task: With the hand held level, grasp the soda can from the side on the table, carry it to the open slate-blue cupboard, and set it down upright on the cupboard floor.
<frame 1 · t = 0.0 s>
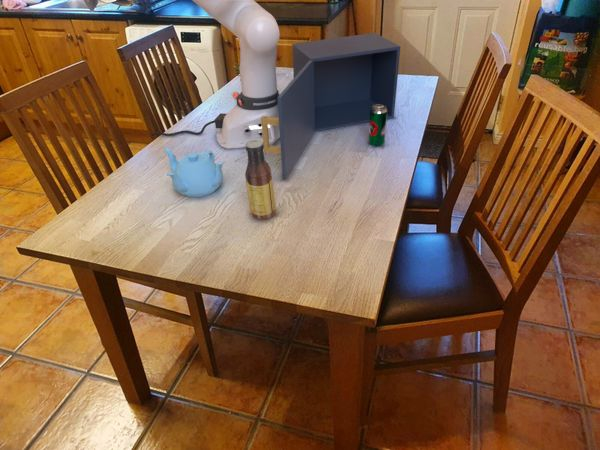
house plant: (254, 98, 178), on the table
teapot: (197, 190, 125), on the table
cupboard: (343, 115, 161), on the table
cupboard door: (288, 117, 132), point 12 cm above the table, hinge at 125.0°
soda can: (376, 144, 143), on the table
sauce bottle: (263, 214, 115), on the table
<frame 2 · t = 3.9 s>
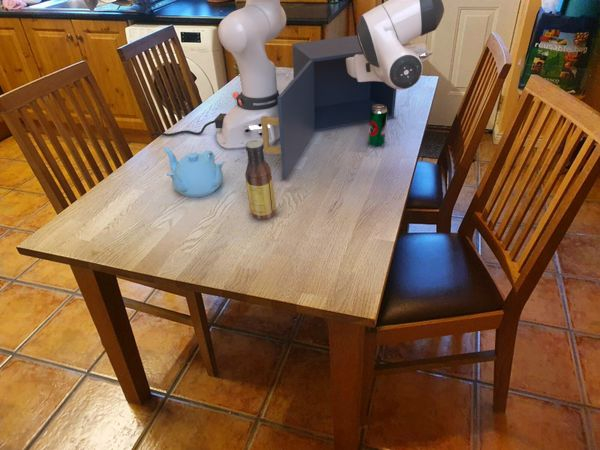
hand: (381, 55, 123), 28 cm above the table, tool horizontal, fingers open, 8 cm apart
nothing on the table moved.
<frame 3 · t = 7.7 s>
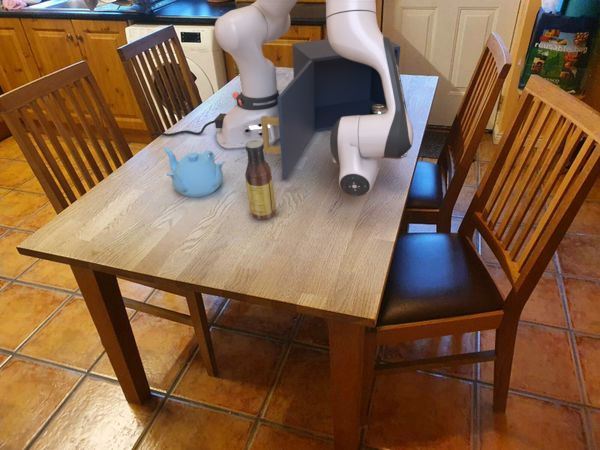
hand: (372, 131, 128), 10 cm above the table, tool horizontal, fingers open, 8 cm apart
nothing on the table moved.
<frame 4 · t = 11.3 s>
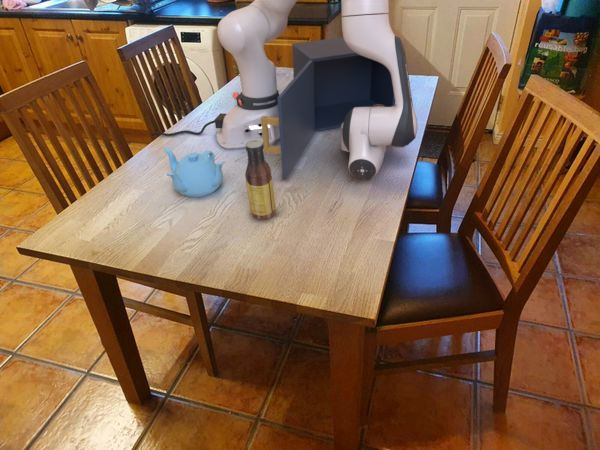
hand: (378, 122, 140), 7 cm above the table, tool horizontal, fingers closed on soda can, 5 cm apart
soda can: (376, 144, 143), on the table, touching gripper
everything else where it was.
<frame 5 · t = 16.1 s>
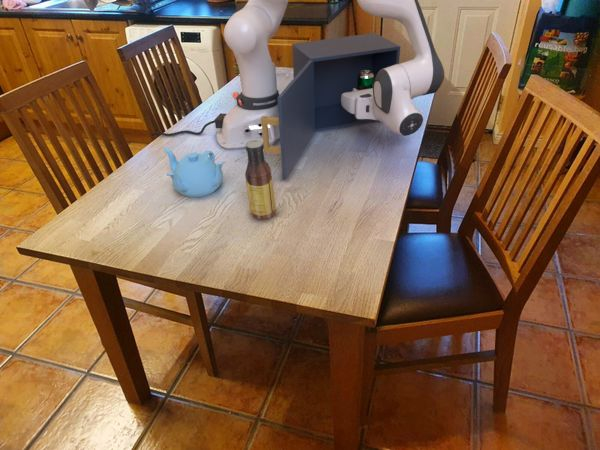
hand: (364, 88, 143), 14 cm above the table, tool horizontal, fingers closed on soda can, 5 cm apart
soda can: (364, 110, 146), point 7 cm above the table, touching gripper
everything else where it was.
when the fingers open (8 cm above the table, at t = 21.2 s): soda can stays where it is, resting on cupboard.
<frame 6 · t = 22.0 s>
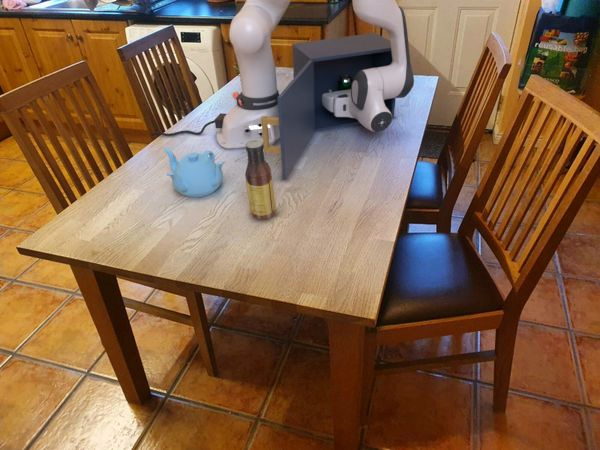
hand: (343, 89, 159), 8 cm above the table, tool horizontal, fingers open, 8 cm apart
soda can: (344, 110, 163), point 1 cm above the table, touching cupboard
everything else where it was.
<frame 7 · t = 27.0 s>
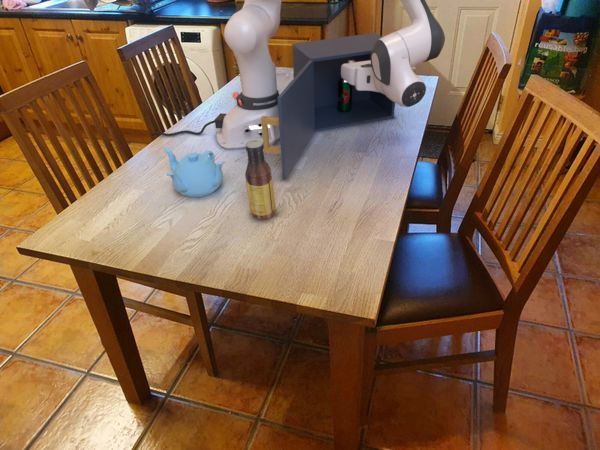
hand: (364, 61, 138), 22 cm above the table, tool horizontal, fingers open, 8 cm apart
nothing on the table moved.
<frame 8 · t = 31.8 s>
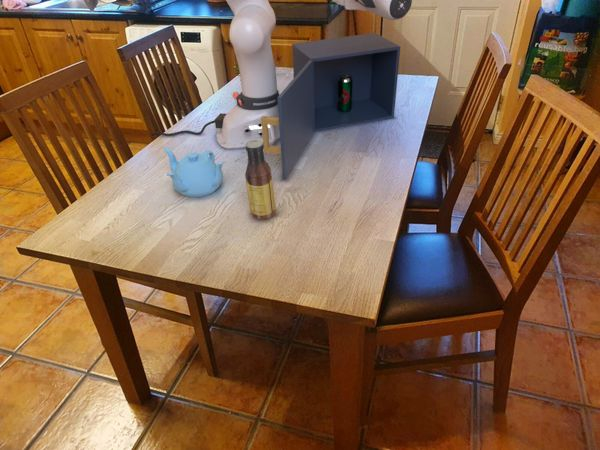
nothing on the table moved.
at the end: soda can inside the target area in the cupboard (2.0 cm from its centre), point 0.8 cm above the cupboard's base; soda can tilted 0°; the gripper is holding nothing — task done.
